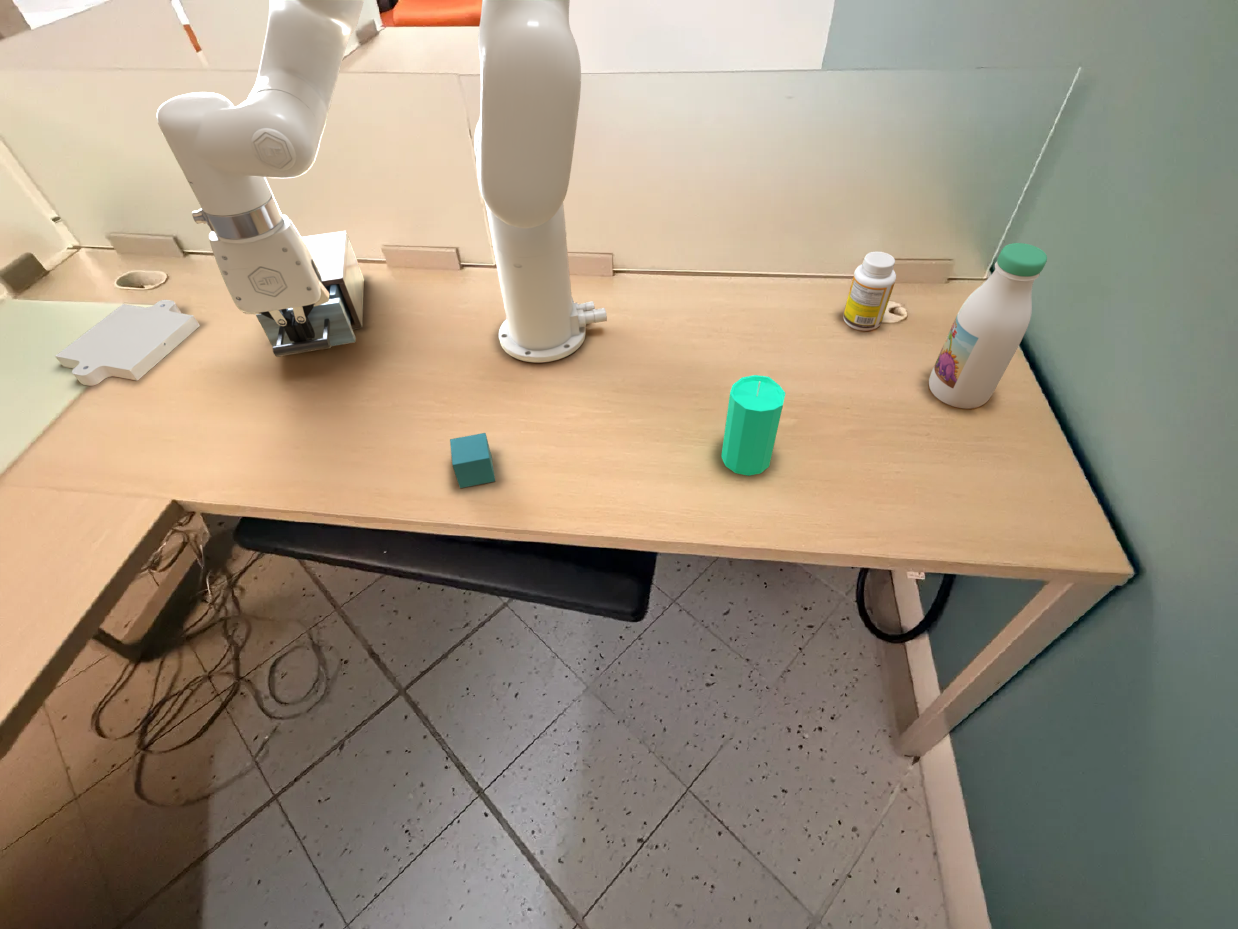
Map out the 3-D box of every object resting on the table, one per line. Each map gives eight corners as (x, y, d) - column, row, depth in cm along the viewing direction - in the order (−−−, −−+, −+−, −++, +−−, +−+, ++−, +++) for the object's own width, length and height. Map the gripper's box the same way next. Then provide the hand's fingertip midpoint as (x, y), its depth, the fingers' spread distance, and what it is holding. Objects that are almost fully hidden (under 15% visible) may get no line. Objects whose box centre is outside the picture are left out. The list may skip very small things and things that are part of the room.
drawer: (354, 367, 90) (337, 327, 85) (272, 381, 89) (249, 341, 84) (357, 294, 102) (342, 255, 97) (285, 305, 101) (266, 266, 96)
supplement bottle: (864, 306, 98) (883, 244, 91) (889, 326, 95) (910, 263, 87) (834, 315, 97) (850, 253, 89) (857, 336, 93) (876, 273, 86)
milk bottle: (991, 379, 87) (1065, 242, 72) (987, 417, 82) (1064, 278, 67) (931, 365, 89) (990, 228, 74) (923, 400, 84) (984, 262, 69)
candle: (739, 482, 76) (752, 408, 67) (711, 449, 80) (720, 374, 71) (781, 464, 78) (799, 389, 69) (752, 432, 81) (766, 357, 72)
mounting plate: (124, 392, 89) (115, 382, 88) (49, 377, 92) (39, 367, 90) (210, 316, 101) (204, 305, 99) (142, 304, 103) (135, 294, 102)
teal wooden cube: (491, 456, 80) (485, 432, 77) (495, 481, 77) (489, 457, 74) (457, 462, 79) (449, 438, 76) (459, 488, 77) (452, 464, 73)
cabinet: (362, 328, 98) (342, 278, 91) (278, 341, 96) (252, 291, 90) (364, 279, 107) (346, 230, 100) (287, 290, 105) (263, 241, 98)
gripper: (168, 240, 72) (244, 369, 86) (309, 222, 74) (361, 350, 88) (182, 208, 77) (252, 335, 90) (314, 192, 79) (362, 318, 92)
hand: (305, 342), depth 89 cm, fingers closed
